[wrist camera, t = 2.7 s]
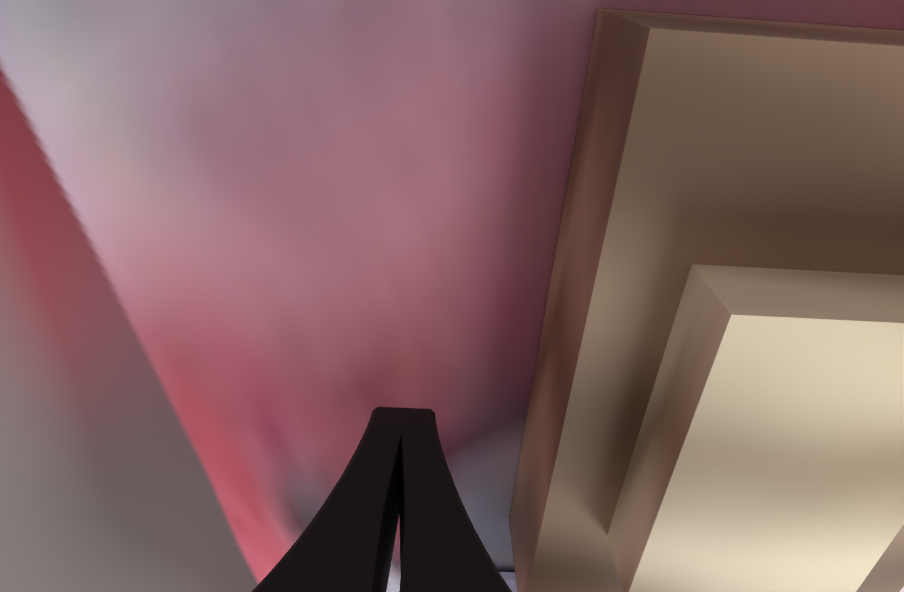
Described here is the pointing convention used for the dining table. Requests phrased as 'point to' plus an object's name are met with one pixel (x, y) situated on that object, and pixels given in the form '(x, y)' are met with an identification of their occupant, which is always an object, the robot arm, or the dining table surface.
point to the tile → (769, 437)
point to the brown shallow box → (693, 237)
